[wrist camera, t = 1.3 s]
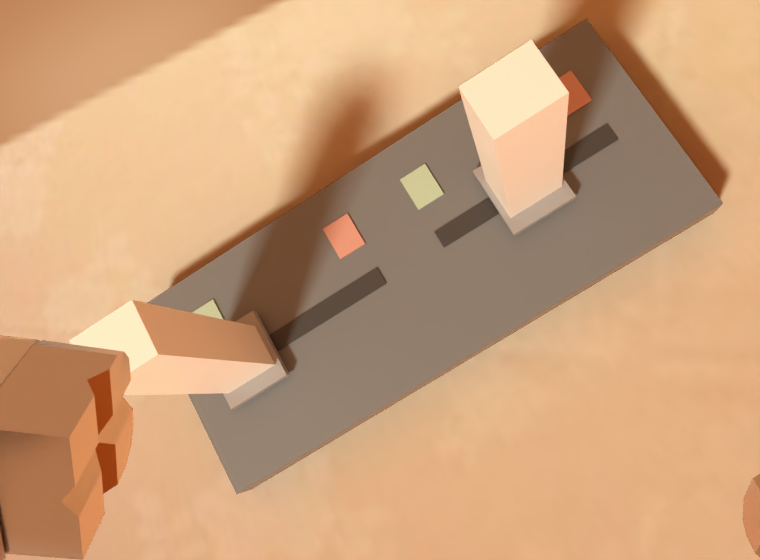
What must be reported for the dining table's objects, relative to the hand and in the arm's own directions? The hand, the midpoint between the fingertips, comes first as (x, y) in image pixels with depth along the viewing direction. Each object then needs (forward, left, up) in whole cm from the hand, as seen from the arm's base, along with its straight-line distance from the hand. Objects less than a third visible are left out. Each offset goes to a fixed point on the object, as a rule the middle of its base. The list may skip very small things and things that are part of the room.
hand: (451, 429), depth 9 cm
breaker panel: (-4, -8, -30) cm, 31 cm away
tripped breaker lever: (-10, -5, -28) cm, 30 cm away
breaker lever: (+5, -14, -28) cm, 31 cm away
